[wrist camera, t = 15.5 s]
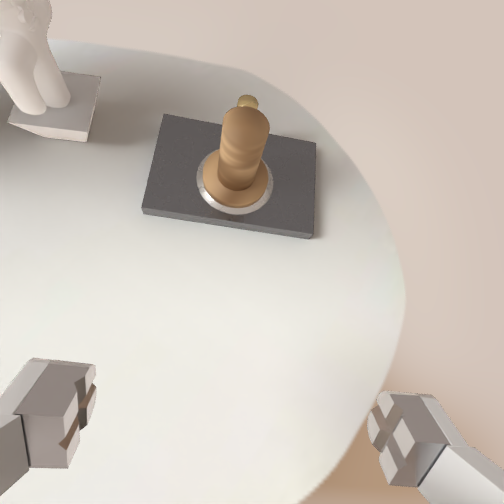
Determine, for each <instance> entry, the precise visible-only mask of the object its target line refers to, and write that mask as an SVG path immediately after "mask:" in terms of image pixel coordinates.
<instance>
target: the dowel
mask: <svg viewBox="0 0 504 504" xmlns="http://www.w3.org/2000/svg"><path fill="white" fill-rule="evenodd" d="M238 106H248V107H252V108H255V109H257V108H258V101H257V99H256V98H255V97H253V96H251V95H243V96H241V97H240V98H239V99H238V104H237V107H238Z"/></svg>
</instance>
